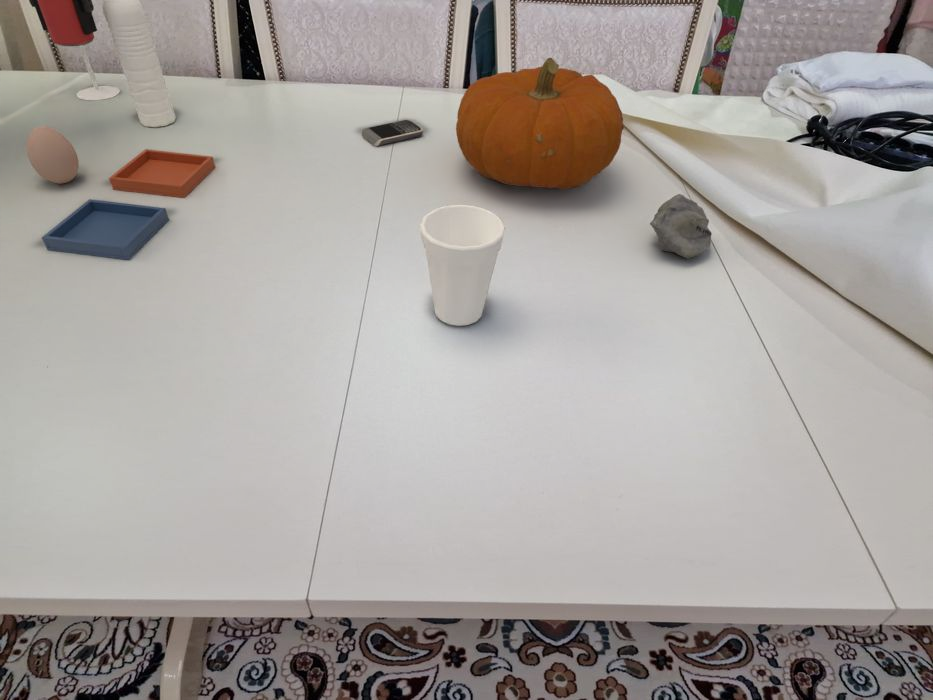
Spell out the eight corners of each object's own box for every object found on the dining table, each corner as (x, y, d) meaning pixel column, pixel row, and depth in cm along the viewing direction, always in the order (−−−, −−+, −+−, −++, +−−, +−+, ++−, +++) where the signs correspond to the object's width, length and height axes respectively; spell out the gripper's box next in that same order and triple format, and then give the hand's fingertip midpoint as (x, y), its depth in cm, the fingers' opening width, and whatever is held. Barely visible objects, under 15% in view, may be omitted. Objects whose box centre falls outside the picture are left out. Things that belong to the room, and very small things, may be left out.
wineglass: (89, 83, 133) (47, -34, 118) (130, 88, 132) (94, -30, 118) (63, 98, 127) (16, -25, 112) (107, 102, 126) (65, -20, 111)
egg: (50, 172, 103) (26, 118, 97) (92, 172, 104) (71, 118, 98) (34, 191, 98) (8, 136, 92) (78, 191, 99) (55, 136, 93)
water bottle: (142, 130, 117) (92, -20, 100) (139, 117, 121) (90, -29, 104) (190, 123, 120) (149, -24, 103) (185, 111, 124) (145, -32, 107)
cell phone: (425, 136, 121) (425, 129, 120) (375, 148, 116) (375, 140, 115) (409, 125, 125) (409, 118, 124) (360, 136, 120) (359, 129, 119)
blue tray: (47, 249, 86) (41, 237, 85) (94, 210, 95) (89, 199, 93) (129, 260, 86) (124, 247, 84) (169, 219, 94) (165, 208, 92)
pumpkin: (627, 163, 116) (654, 50, 103) (586, 230, 97) (612, 102, 84) (489, 131, 124) (497, 23, 111) (426, 187, 105) (427, 65, 92)
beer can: (53, 37, 108) (24, -43, 100) (95, 35, 110) (70, -43, 102) (52, 48, 104) (21, -34, 96) (95, 46, 106) (69, -35, 98)
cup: (436, 345, 75) (438, 255, 67) (409, 298, 82) (407, 211, 73) (509, 327, 79) (520, 239, 70) (477, 283, 85) (483, 198, 76)
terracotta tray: (112, 189, 100) (108, 178, 98) (149, 159, 108) (145, 149, 107) (184, 197, 99) (181, 186, 98) (215, 167, 107) (212, 156, 106)
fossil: (674, 275, 89) (690, 227, 84) (626, 247, 94) (638, 200, 89) (719, 251, 94) (736, 204, 89) (671, 226, 100) (685, 180, 94)
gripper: (90, -137, 92) (136, 30, 108) (-32, -148, 94) (31, 19, 109) (58, -133, 87) (112, 42, 102) (-70, -145, 88) (2, 30, 103)
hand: (70, 30), depth 106 cm, fingers closed on beer can, 6 cm apart
